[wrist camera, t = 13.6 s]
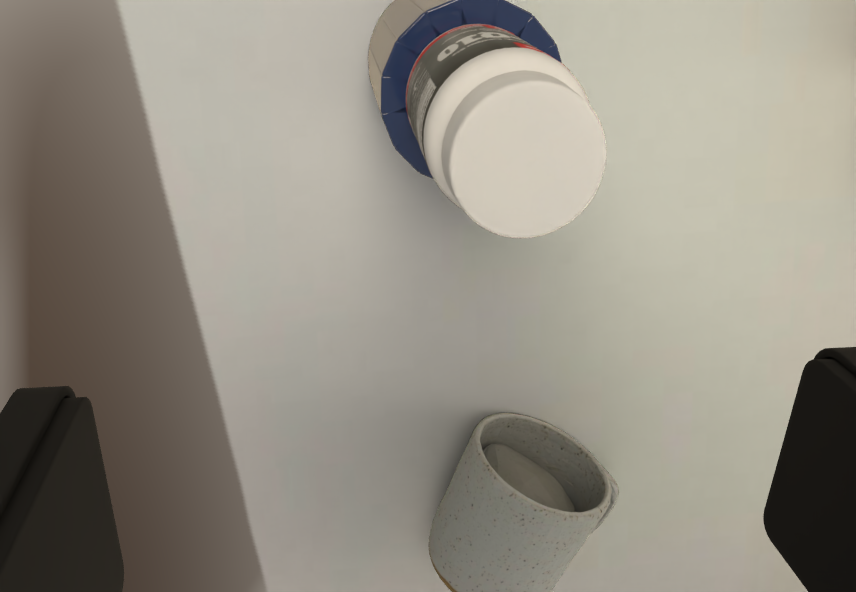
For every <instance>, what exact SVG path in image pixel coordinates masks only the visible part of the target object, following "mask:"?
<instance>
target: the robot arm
mask: <svg viewBox="0 0 856 592" xmlns="http://www.w3.org/2000/svg"><path fill="white" fill-rule="evenodd" d="M764 525H765V530H766V532H767V535H768V537H769V538H770V540H771V542H772V543H773V544H774V546H775V547H776V548H777V550H778V551H779V553H780V554H781V555H782V557H783V558H784V559H785V561H786V562H787V563H788V565H789V566H790V567H791V569H792V570H793V571H794V573H795V574H796V576H797V577H798V578H799V580H800V581H801V582H802V584H803V585H804V586H805V588H806V589H807V590H808V592H856V347H846V348H826V349H823V350H821V351H819V353H818V354H817V355H816V356H815V358H814V360H811V361H809V362H808V363H807V364H806V365H805V367H804V370H803V373H802V376H801V380H800V384H799V387H798V391H797V394H796V398H795V402H794V405H793V409H792V412H791V416H790V420H789V423H788V427H787V430H786V434H785V438H784V441H783V445H782V448H781V452H780V456H779V459H778V463H777V466H776V470H775V474H774V477H773V481H772V484H771V488H770V492H769V495H768V499H767V502H766V506H765V510H764ZM123 581H124V567H123V560H122V554H121V549H120V544H119V539H118V534H117V529H116V525H115V519H114V514H113V509H112V504H111V499H110V494H109V489H108V484H107V479H106V474H105V470H104V464H103V459H102V454H101V449H100V444H99V439H98V434H97V429H96V424H95V419H94V414H93V409H92V405H91V402H90V400H89V399H88V398H87V397H80V398H79V397H78V398H76V397H75V394H74V392H73V390H72V389H71V388H70V387H69V386H60V387H41V388H21V389H17V390H16V391H15V392H14V393H13V394H12V396H11V397H10V399H9V400H8V402H7V404H6V405H5V407H4V408H3V410H2V412H1V413H0V592H122V588H123Z"/></svg>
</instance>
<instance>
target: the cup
mask: <svg viewBox="0 0 856 592" xmlns="http://www.w3.org/2000/svg"><path fill="white" fill-rule="evenodd" d="M469 24H486V25H491V26H496V27H499V28H502V29H504V30H507V31H509V32H511V33H513V34H514V35H516V36H517V37H519V38H520V39H522V40H524V41H526V42H527V43H529V44H531V45H532V46H534V47H536V48H537V49H539V50H541V51H543V52H544V53H546V54H548V55H550V56H551V57H553V58H554V59H556V60H558V61H559V62H561V59H560V55H559V51H558V48H557V45H556V44H555V42H554V40H553V39H552V37H551V36H550V35H549V34H548V33H547V31H546V30H545V29H544V28H543V26H542V25H541V24H540V23H539V21H538V20H537V19H536V18H535V16H533V15H532V14H531V13H530V12H528V11H526V10H524V9H522V8H519V7H517V6H515V5H513V4H511V3H509V2H507V1H505V0H394V1H393V2H392V3H391V4H390V5H389V6H388V7H387V9H386V10H385V11H384V12H383V14H382V15H381V17H380V18H379V20H378V22H377V24H376V26H375V28H374V31H373V34H372V37H371V41H370V46H369V54H368V65H369V77H370V81H371V85H372V88H373V91H374V94H375V97H376V100H377V104H378V107H379V110H380V113H381V116H382V119H383V121H384V124H385V126H386V129H387V131H388V134H389V136H390V139H391V141H392V144H393V146H394V147H395V149H396V150H397V151H398V152H399V153H400V154H401V155H402V156H403V157H404V158H405V159H406V160H407V161H408V162H409V163H410V164H411V165H412V166H413V167H414V169H415V170H416V171H417V172H420V174H423V175H425V176H428V177H430V178H432V179H434V178H433V177H432V175H431V174H430V171H429V169H428V166H427V164H426V161H425V158H424V156H423V154H422V151H421V149H420V146H419V144H418V141H417V139H416V137H415V135H414V132H413V130H412V127H411V125H410V122H409V119H408V115H407V110H406V88H407V83H408V79H409V76H410V72H411V70H412V68H413V65H414V63H415V61H416V60H417V58H418V57H419V55H420V54H421V52H422V51H423V50H424V48H425V47H426V46H427V45H428V44H429V43H430V42H432V41H433V40H434V39H435V38H437V37H438V36H439V35H441V34H443V33H445V32H446V31H448V30H451V29H453V28H456V27H459V26H463V25H469ZM561 63H562V62H561Z"/></svg>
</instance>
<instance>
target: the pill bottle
mask: <svg viewBox="0 0 856 592" xmlns="http://www.w3.org/2000/svg"><path fill="white" fill-rule="evenodd" d="M406 110H407V115H408V119H409V122H410V125H411V127H412V130H413V132H414V135H415V137H416V139H417V141H418V144H419V146H420V149H421V151H422V154H423V156H424V158H425V161H426V164H427V166H428V169H429V171H430V174H431V175H432V177H433V178H434V180H435V182H436V183H437V185H438V187H439V188H440V189H441V191H442V192H443V193H444V194H445V195H446V196H447V198H449V199H450V200H451V201H452V202H453V203H454V204H456V205H457V206H458V207H460V208H461V209H463V211H464V212H465V213H466V214H467V215H468V216H469V217H470V218H471V219H472V220H473V221H474V222H475V223H476V224H478V225H479V226H481V227H483V228H484V229H486V230H488V231H490V232H492V233H495V234H497V235H501V236H505V237H510V238H532V237H538V236H542V235H545V234H548V233H551V232H553V231H556V230H558V229H560V228H562V227H563V226H565V225H567V224H568V223H570V222H571V221H572V220H573V219H575V218H576V217H577V216H578V215H579V214H580V213H581V212H582V211H583V210H584V209H585V208H586V207H587V206H588V204H589V203H590V202H591V200H592V199H593V197H594V195H595V194H596V192H597V190H598V188H599V186H600V183H601V181H602V178H603V174H604V170H605V165H606V157H607V149H606V139H605V135H604V131H603V128H602V125H601V123H600V120H599V118H598V116H597V115H596V113H595V111H594V110H593V109H592V107H591V106H590V103H589V100H588V98H587V95H586V93H585V91H584V89H583V87H582V86H581V84H580V83H579V81H578V80H577V79H576V77H575V76H574V75H573V74H572V73H571V72H570V70H569V69H568V68H566V67H565V66H564V65H563V64H562V63H561V62H559V61H558V60H556V59H554V58H553V57H551V56H550V55H548V54H546V53H544V52H543V51H541V50H539V49H537V48H536V47H534V46H532V45H531V44H529V43H527V42H526V41H524V40H522V39H520V38H519V37H517V36H516V35H514V34H513V33H511V32H509V31H507V30H504V29H502V28H499V27H496V26H491V25H486V24H469V25H463V26H459V27H456V28H453V29H451V30H448V31H446V32H445V33H443V34H441V35H439V36H438V37H437V38H435V39H434V40H433V41H432V42H430V43H429V44H428V45H427V46H426V47H425V48H424V50H423V51H422V52H421V54H420V55H419V57H418V58H417V60H416V61H415V63H414V65H413V68H412V70H411V72H410V76H409V79H408V83H407V88H406Z"/></svg>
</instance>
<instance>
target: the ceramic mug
mask: <svg viewBox="0 0 856 592" xmlns="http://www.w3.org/2000/svg"><path fill="white" fill-rule="evenodd" d="M618 494H619V489H618V486H617V483H616V481H615V479H614V478H613V477H612V476H611V475H610V474H609V473H608V472H607V471H606V470H605V468H604V467H603V466H602V465H600V464H599V462H598V461H597V460H596V459H595V457H594V456H593V455H592V454H591V453H590V452H589V451H588V450H587V449H586V448H585V447H584V446H583V445H581V444H580V443H579V442H577V441H576V440H575V439H574V438H572V437H571V436H569V435H567V434H566V433H565V432H563V431H562V430H560V429H558V428H556V427H554V426H552V425H550V424H548V423H546V422H543V421H540V420H538V419H535V418H532V417H528V416H524V415H520V414H514V413H499V414H494V415H491V416H488V417H486V418H485V419H483V420H482V421H481V422H480V423H479V424H478V425H477V426H476V428H475V429H474V431H473V433H472V436H471V438H470V440H469V443H468V445H467V447H466V449H465V451H464V453H463V455H462V457H461V459H460V462H459V464H458V466H457V468H456V471H455V473H454V475H453V477H452V480H451V482H450V484H449V486H448V489H447V491H446V493H445V495H444V497H443V499H442V501H441V503H440V505H439V507H438V509H437V512H436V514H435V517H434V519H433V523H432V527H431V531H430V536H429V554H430V557H431V561H432V564H433V566H434V568H435V570H436V572H437V573H438V575H439V577H440V579H441V580H442V581H443V582H444V583H445V585H446V586H447V587H448V588H449V589H450V590H451V591H452V592H550V591H551V590H552V589H553V587H554V586H555V585H556V583H557V582H558V580H559V579H560V577H561V576H562V574H563V572H564V571H565V569H566V568H567V566H568V564H569V563H570V562H571V560H572V559H573V557H574V556H575V554H576V553H577V551H578V550H579V549H580V548H581V546H582V545H583V544H584V542H585V541H586V539H587V538H588V536H589V535H590V534H591V533H592V532H593V531H594V530H595V529H597V528H598V527H599V526H600V525H601V523H602V522H603V521H604V519H605V518H606V517H607V516H608V514H609V513H610V512H611V510H612V508H613V507H614V505H615V503H616V500H617V498H618Z"/></svg>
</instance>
